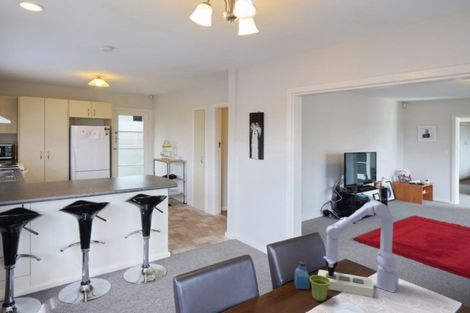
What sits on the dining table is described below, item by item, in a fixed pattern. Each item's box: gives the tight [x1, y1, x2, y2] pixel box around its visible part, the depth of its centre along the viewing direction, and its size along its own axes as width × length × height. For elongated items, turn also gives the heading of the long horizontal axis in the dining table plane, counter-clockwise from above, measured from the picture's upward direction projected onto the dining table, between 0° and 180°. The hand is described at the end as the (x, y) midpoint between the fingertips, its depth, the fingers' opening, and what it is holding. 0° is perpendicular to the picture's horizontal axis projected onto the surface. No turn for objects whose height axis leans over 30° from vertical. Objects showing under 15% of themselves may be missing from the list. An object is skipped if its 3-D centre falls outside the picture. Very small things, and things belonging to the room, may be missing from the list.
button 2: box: [353, 278, 363, 284], centre depth 151 cm, size 4×4×4 cm
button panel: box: [317, 269, 374, 298], centre depth 154 cm, size 26×12×4 cm, turn 69°
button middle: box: [340, 276, 349, 282], centre depth 154 cm, size 4×4×4 cm
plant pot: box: [309, 274, 331, 302], centre depth 142 cm, size 9×9×9 cm
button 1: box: [326, 273, 336, 279], centre depth 156 cm, size 4×4×4 cm
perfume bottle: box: [293, 260, 311, 290], centre depth 153 cm, size 6×6×12 cm
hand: (331, 275), depth 156 cm, fingers closed, pressing on button 1
